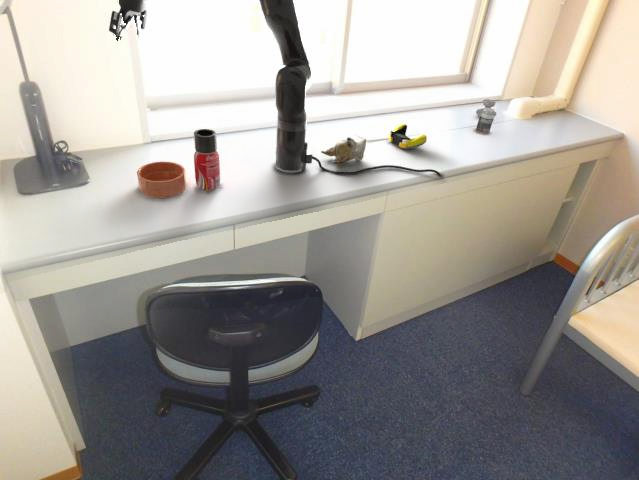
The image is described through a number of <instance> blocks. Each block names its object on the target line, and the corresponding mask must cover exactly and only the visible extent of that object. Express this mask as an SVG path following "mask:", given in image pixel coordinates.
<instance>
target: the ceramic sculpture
mask: <svg viewBox="0 0 639 480" xmlns="http://www.w3.org/2000/svg"><path fill="white" fill-rule="evenodd" d="M366 146H367V138H363V139H358V140H355V139H354V138H352V137H347V138H346V139H342V140H339V141H338V142H336V143H335V145H334V146H332V147H330V148H329V149H326V150H322V151H321V150H320V153H321V154H322V155H325V156H328V157H335V158H334V161H333V162H332V164H334V165H339V166H341V165H345V164H346V163H347V162H351V161H353V160H358V161H362V160H364V159H363V158H364V156H365V151H366Z"/></svg>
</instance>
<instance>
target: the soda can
mask: <svg viewBox="0 0 639 480" xmlns="http://www.w3.org/2000/svg"><path fill="white" fill-rule="evenodd" d="M193 166H194V168H193V169H194V178H195V185H196V187H197V188H198V189H199V190H201V191H204V192H212V191H215V190H216V189H218V188H219V187H220V185H221V166H220V155H219V152H218V151H217V150H216V151H215V152H213V153H206V154H204V153H199V152H197V151H196V150H195V152H194V154H193Z"/></svg>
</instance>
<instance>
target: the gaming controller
mask: <svg viewBox="0 0 639 480" xmlns="http://www.w3.org/2000/svg"><path fill="white" fill-rule="evenodd" d="M407 131H408V125H407V124H405V123H401V124H399V125H398V126H397V127H395V128H394V130H390V131H388V140H389V142H390V143H392V144H394V145H395V146H397V147H398V148H401V149H405V150H406V149H407V150H409V149H415V148H419V147H421V146H423V145H424V144H425V143H426V142H427V139H428V137H427V135H425V134H422V135H421V134H420V135H419V136H417V137H414V138H410V137H409V136H407V134H406V133H407Z"/></svg>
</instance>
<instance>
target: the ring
mask: <svg viewBox="0 0 639 480" xmlns="http://www.w3.org/2000/svg"><path fill="white" fill-rule="evenodd" d="M193 139H194V150H195V152H196V151H197V152H199V153H204V154H206V153H213V152H215V151H217V150H218V147H217V146H218V145H217V143H218V142H217V133H216V131H215V130H213V129H209V128H200V129H197V130H194V132H193Z"/></svg>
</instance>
